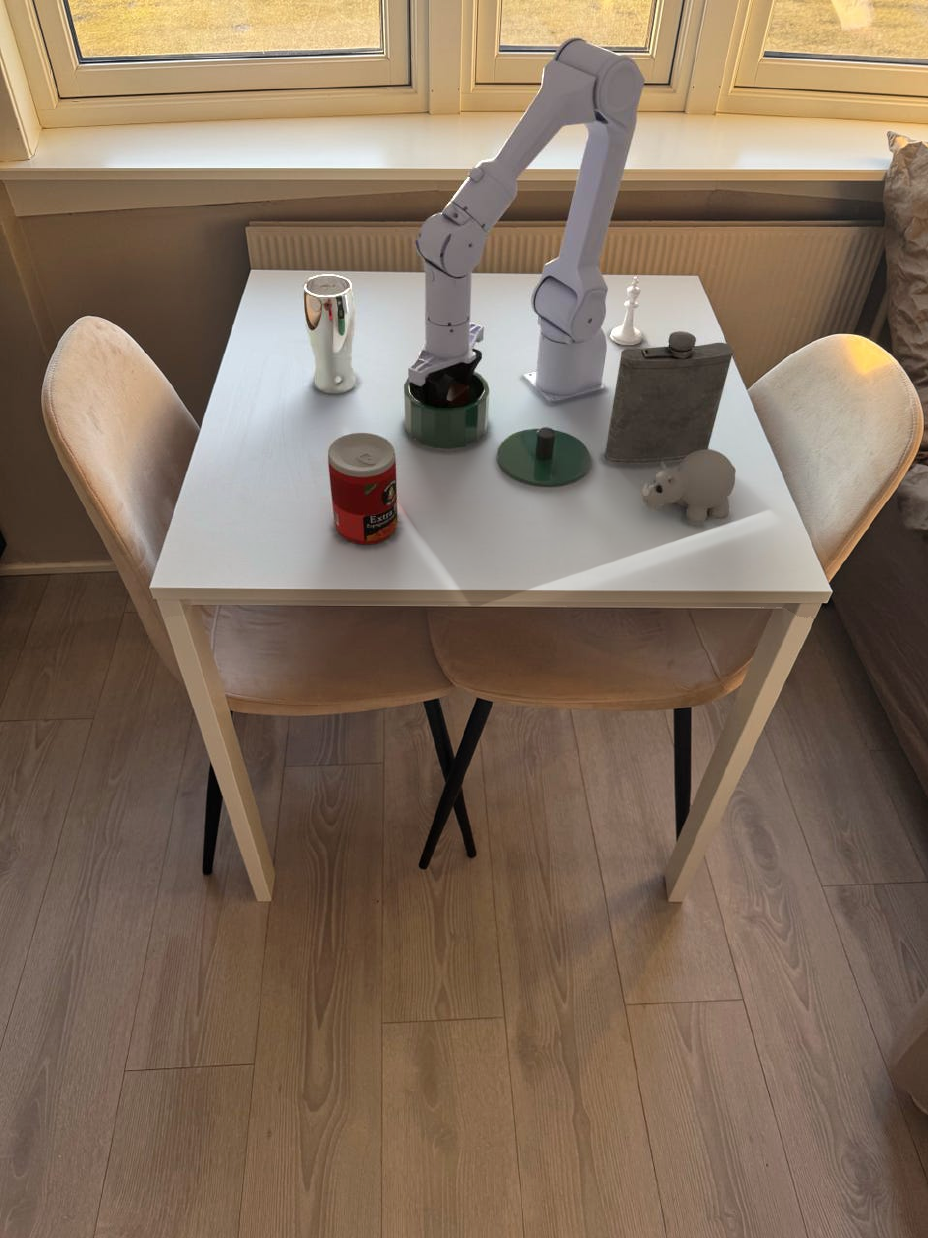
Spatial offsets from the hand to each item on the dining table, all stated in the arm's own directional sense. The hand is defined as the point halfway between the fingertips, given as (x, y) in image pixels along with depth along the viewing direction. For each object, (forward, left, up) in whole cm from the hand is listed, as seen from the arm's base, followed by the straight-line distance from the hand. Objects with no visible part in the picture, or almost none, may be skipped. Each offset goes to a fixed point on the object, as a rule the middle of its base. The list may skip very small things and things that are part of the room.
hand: (446, 407), depth 127 cm
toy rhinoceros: (-19, +29, -3) cm, 35 cm away
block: (0, 0, -1) cm, 1 cm away
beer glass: (+10, -17, -3) cm, 20 cm away
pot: (0, 0, -3) cm, 3 cm away
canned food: (+18, +15, -3) cm, 24 cm away
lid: (-9, +12, -3) cm, 15 cm away
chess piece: (-37, -11, -3) cm, 39 cm away
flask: (-23, +18, -3) cm, 29 cm away
